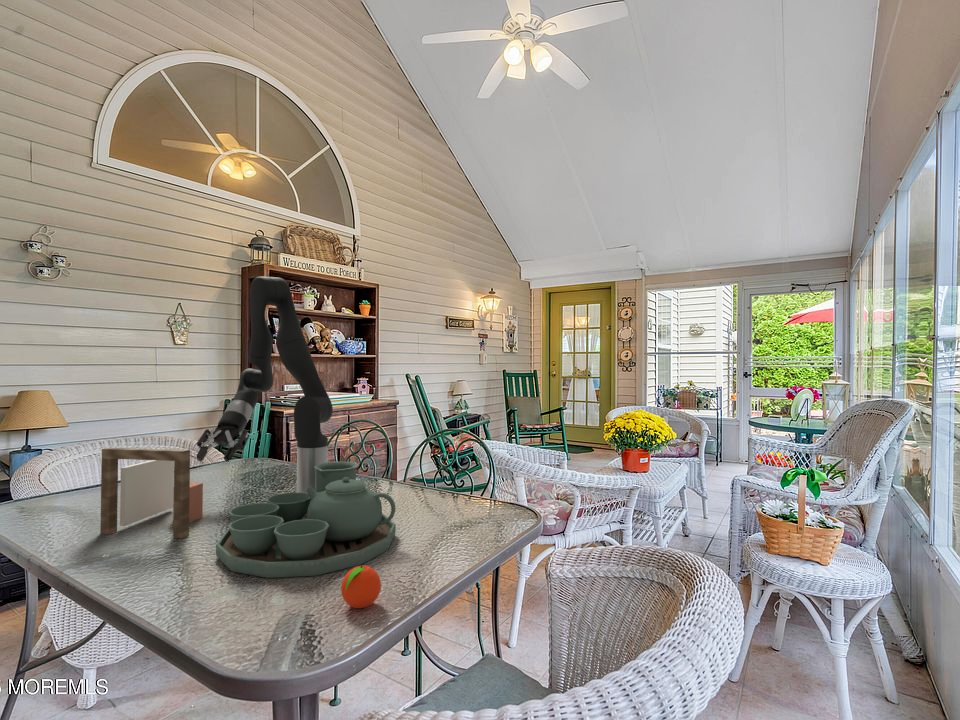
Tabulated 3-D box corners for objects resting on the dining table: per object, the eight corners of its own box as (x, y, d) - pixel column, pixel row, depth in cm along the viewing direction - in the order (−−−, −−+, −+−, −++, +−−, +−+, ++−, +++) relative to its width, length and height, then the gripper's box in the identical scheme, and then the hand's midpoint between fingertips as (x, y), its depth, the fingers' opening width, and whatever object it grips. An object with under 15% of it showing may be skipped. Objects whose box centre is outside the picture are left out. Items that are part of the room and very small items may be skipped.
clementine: (362, 622, 83) (362, 579, 83) (328, 614, 86) (328, 572, 86) (388, 601, 91) (388, 561, 91) (356, 594, 93) (356, 556, 93)
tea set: (225, 529, 130) (226, 466, 130) (379, 513, 145) (379, 457, 145) (204, 595, 93) (205, 506, 93) (413, 564, 108) (413, 488, 108)
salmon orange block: (202, 516, 140) (202, 483, 140) (190, 522, 135) (190, 487, 135) (185, 516, 141) (186, 482, 141) (173, 521, 136) (173, 486, 136)
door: (165, 507, 146) (166, 455, 146) (173, 507, 146) (174, 456, 146) (115, 525, 129) (116, 467, 129) (124, 526, 128) (125, 467, 129)
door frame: (188, 535, 125) (190, 449, 125) (182, 538, 123) (183, 451, 123) (108, 530, 128) (109, 447, 128) (100, 534, 125) (101, 448, 126)
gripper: (209, 409, 157) (184, 452, 146) (252, 409, 156) (229, 452, 144) (220, 424, 163) (196, 466, 151) (261, 424, 161) (240, 467, 149)
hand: (212, 459), depth 148 cm, fingers open, 8 cm apart
